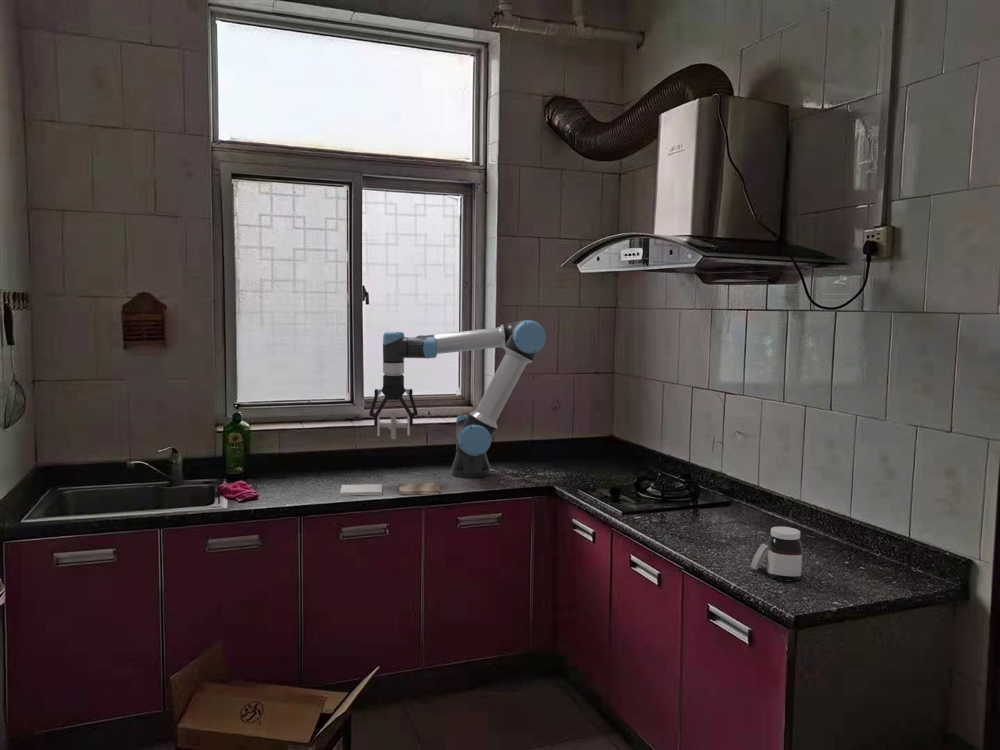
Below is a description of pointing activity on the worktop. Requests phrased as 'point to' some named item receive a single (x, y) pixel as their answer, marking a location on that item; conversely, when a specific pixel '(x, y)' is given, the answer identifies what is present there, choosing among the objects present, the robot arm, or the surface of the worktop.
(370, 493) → the tile
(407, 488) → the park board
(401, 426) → the pipe connector
